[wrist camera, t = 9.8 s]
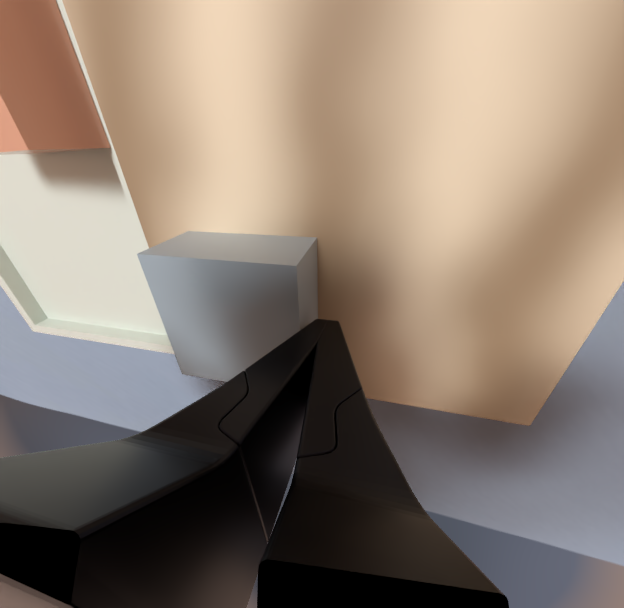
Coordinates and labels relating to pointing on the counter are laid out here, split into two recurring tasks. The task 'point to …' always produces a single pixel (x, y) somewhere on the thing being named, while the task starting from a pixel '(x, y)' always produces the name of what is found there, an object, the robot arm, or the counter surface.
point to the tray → (76, 244)
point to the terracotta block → (42, 84)
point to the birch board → (390, 168)
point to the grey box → (231, 296)
